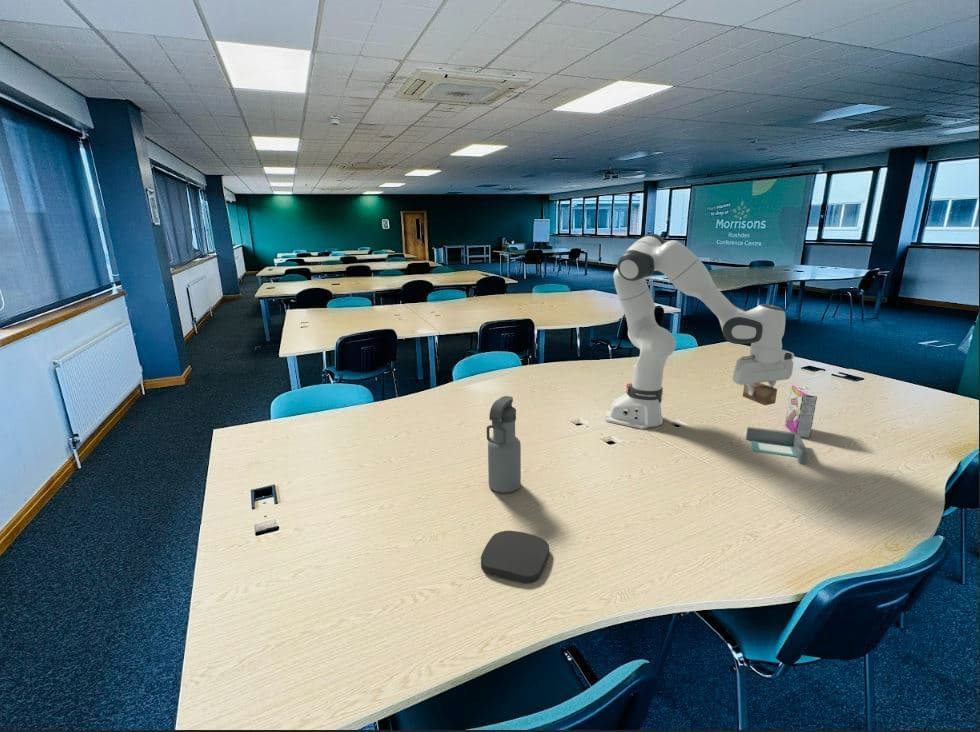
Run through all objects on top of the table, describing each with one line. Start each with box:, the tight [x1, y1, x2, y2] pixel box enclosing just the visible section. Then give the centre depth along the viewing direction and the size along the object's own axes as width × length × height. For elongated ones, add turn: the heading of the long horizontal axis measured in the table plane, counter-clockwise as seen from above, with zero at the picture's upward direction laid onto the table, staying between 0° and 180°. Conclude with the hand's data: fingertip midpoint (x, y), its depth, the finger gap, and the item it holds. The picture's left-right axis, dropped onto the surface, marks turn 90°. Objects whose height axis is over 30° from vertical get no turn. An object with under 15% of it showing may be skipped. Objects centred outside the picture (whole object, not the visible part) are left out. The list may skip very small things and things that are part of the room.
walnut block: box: [742, 382, 778, 406], centre depth 163 cm, size 4×9×5 cm, turn 19°
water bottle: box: [486, 395, 522, 494], centre depth 144 cm, size 10×10×28 cm
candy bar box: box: [784, 384, 818, 439], centre depth 179 cm, size 11×5×16 cm, turn 168°
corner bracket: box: [745, 426, 808, 465], centre depth 167 cm, size 16×15×4 cm
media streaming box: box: [480, 530, 550, 584], centre depth 116 cm, size 15×15×3 cm
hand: (759, 393), depth 163 cm, fingers closed on walnut block, 5 cm apart
